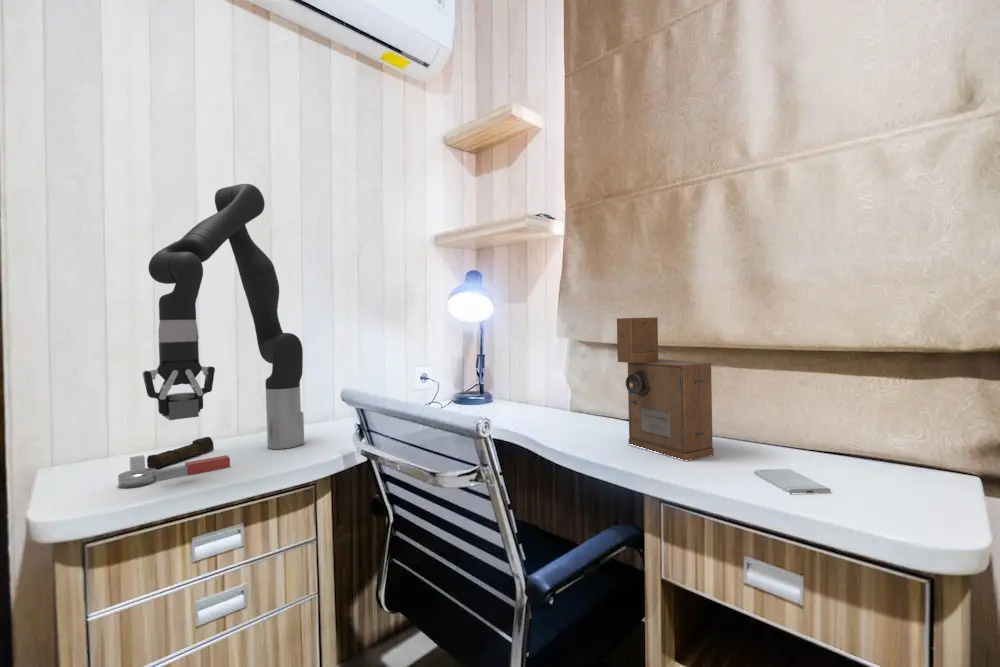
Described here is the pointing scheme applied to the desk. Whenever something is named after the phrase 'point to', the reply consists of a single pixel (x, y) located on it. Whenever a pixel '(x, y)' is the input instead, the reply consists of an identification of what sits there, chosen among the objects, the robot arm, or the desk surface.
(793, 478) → the hard drive
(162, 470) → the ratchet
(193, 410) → the block with domed cap
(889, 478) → the desk surface
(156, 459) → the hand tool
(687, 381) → the vintage camera
